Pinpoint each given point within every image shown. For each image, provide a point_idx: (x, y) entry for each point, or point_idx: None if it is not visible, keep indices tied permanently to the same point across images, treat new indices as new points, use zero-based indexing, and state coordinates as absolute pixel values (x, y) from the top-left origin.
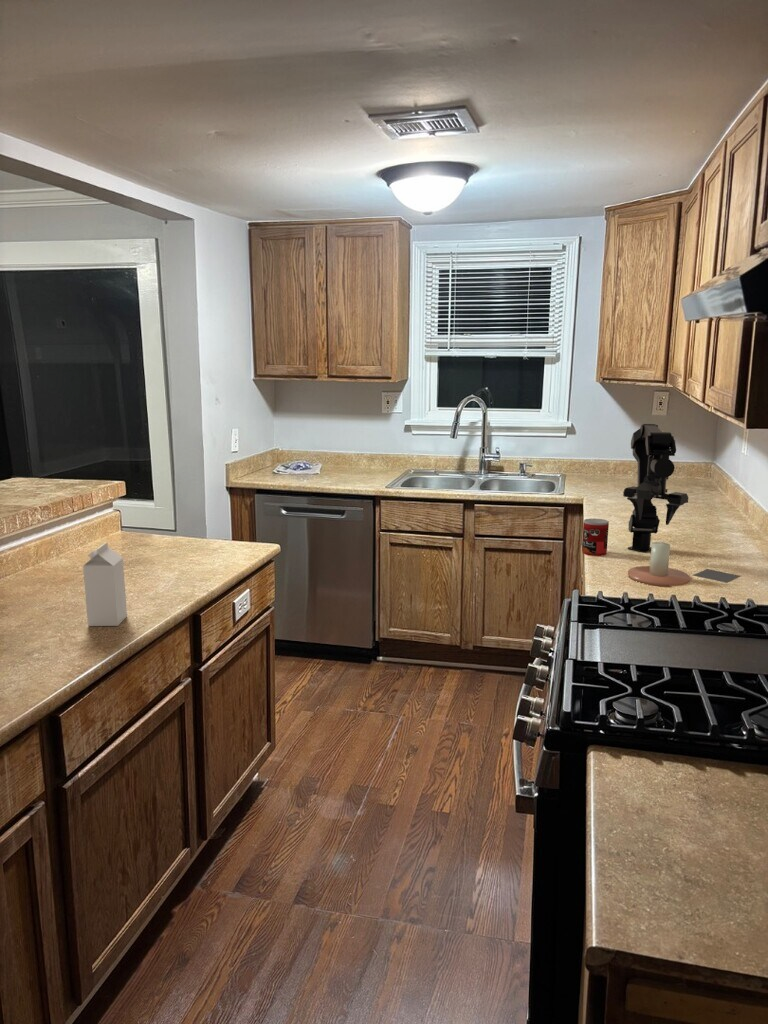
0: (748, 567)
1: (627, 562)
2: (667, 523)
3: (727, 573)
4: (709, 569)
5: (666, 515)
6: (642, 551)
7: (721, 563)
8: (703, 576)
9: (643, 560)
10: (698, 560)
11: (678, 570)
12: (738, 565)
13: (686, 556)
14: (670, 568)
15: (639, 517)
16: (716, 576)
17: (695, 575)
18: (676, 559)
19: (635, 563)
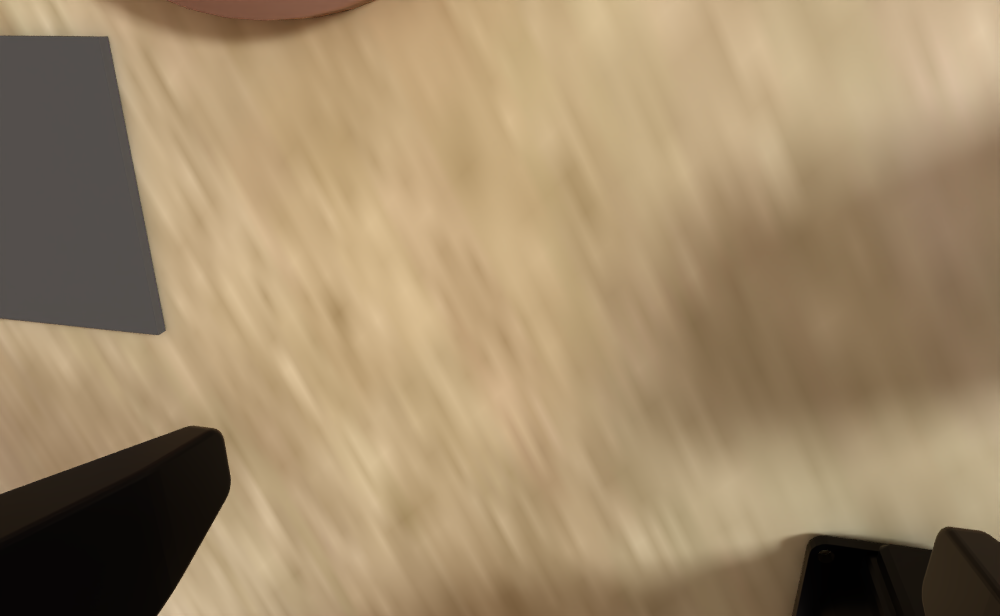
0: None
1: (825, 39)
2: (165, 440)
3: (10, 308)
4: (138, 327)
5: (3, 540)
6: (842, 540)
7: (219, 567)
8: (31, 74)
9: (707, 260)
10: (359, 555)
11: (188, 1)
12: None
13: (478, 613)
14: (274, 9)
15: (967, 586)
16: None
17: (78, 48)
18: (489, 488)
19: (726, 71)
